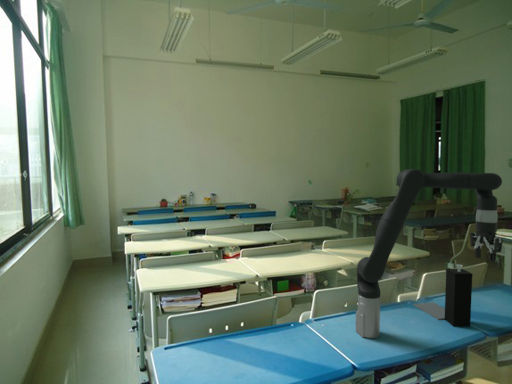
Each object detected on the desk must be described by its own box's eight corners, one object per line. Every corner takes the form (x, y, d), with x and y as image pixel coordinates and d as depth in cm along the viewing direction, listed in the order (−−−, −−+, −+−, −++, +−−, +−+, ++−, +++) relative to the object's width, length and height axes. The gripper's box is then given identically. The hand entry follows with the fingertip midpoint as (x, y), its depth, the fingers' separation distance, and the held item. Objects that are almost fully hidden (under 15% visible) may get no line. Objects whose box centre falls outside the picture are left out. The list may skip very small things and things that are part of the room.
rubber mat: (438, 319, 164) (438, 318, 164) (413, 305, 183) (413, 304, 182) (460, 317, 167) (460, 316, 167) (433, 303, 185) (433, 302, 185)
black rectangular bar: (470, 326, 157) (472, 266, 155) (453, 326, 157) (455, 266, 156) (460, 319, 165) (462, 261, 163) (444, 319, 165) (446, 261, 163)
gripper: (465, 218, 151) (463, 256, 152) (494, 223, 137) (492, 264, 138) (479, 217, 152) (478, 255, 153) (509, 222, 138) (507, 263, 139)
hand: (484, 259), depth 146 cm, fingers open, 6 cm apart
